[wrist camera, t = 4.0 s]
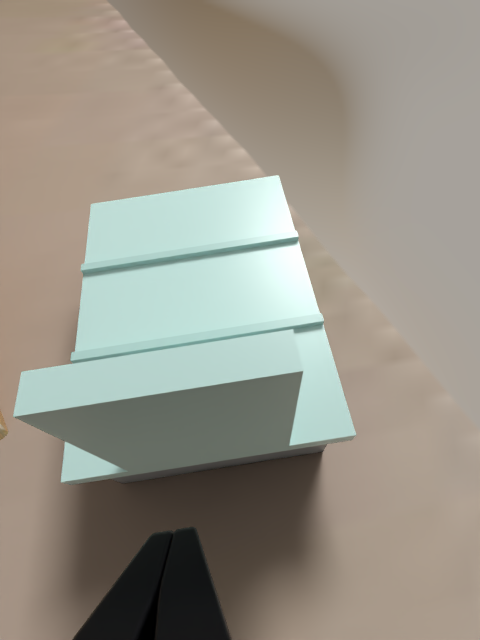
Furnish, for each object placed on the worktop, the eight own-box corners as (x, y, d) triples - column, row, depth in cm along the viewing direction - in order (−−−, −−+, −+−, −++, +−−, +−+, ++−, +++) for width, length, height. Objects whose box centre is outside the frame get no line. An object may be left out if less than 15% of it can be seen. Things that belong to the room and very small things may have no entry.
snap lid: (352, 439, 14) (423, 351, 8) (70, 485, 14) (-110, 436, 7) (278, 186, 22) (281, 32, 15) (96, 214, 22) (19, 72, 15)
